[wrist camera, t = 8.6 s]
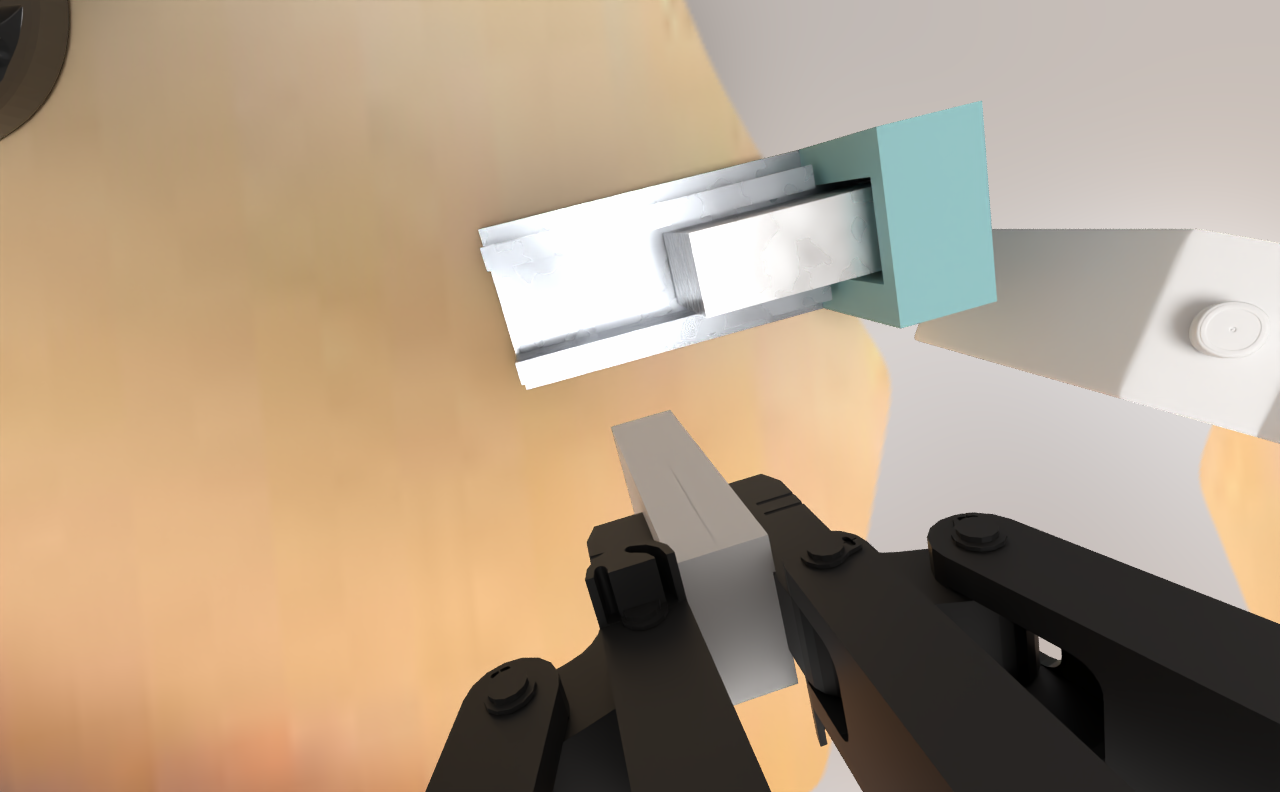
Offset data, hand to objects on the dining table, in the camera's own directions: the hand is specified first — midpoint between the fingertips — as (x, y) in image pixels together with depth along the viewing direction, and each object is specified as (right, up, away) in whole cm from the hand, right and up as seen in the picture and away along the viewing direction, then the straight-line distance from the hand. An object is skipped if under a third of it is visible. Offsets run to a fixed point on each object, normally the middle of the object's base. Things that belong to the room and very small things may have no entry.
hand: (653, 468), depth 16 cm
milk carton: (+21, +8, +25) cm, 34 cm away
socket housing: (+12, +12, +21) cm, 27 cm away
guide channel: (+3, +10, +21) cm, 24 cm away
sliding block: (+7, +10, +20) cm, 24 cm away
